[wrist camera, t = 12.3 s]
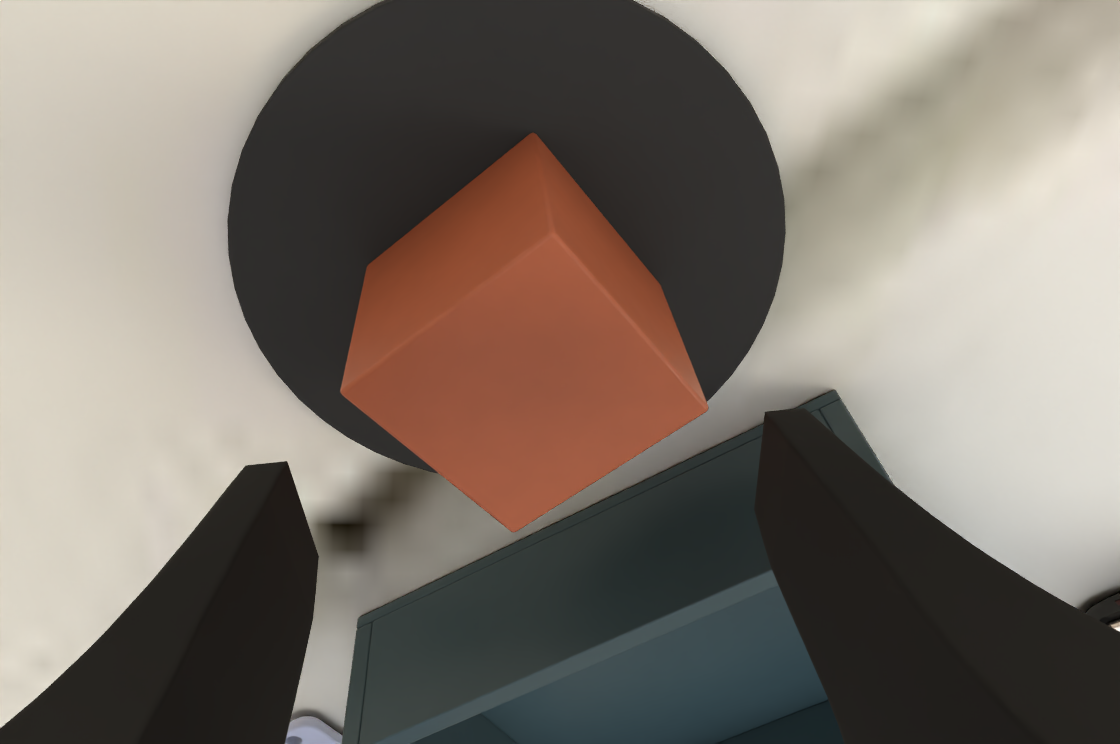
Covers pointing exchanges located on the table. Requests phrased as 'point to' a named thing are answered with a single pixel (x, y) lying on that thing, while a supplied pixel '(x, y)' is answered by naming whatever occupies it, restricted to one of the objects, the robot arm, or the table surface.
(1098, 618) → the battery charger
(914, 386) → the table surface
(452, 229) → the block
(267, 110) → the coaster
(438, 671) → the tote
